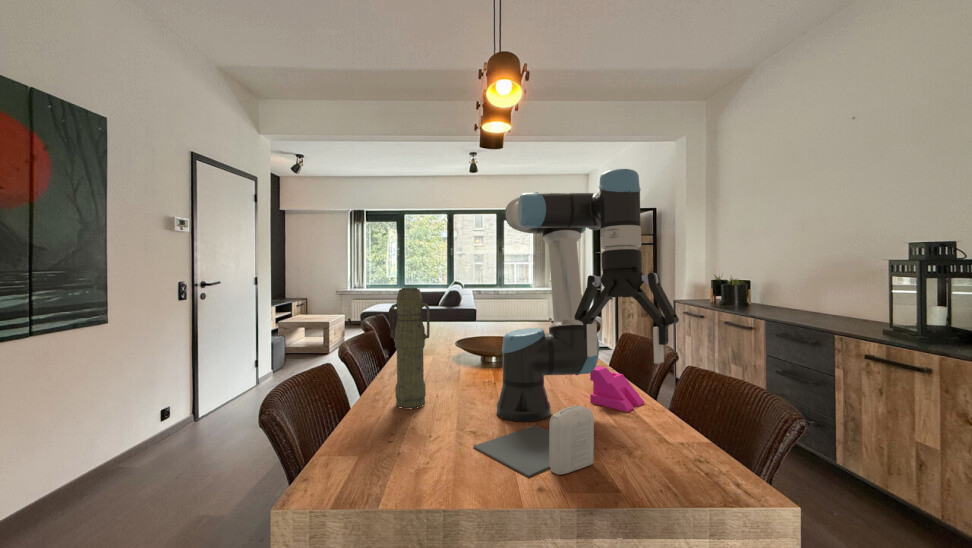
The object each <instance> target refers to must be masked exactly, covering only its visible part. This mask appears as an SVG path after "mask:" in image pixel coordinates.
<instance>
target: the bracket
mask: <svg viewBox="0 0 972 548" xmlns="http://www.w3.org/2000/svg"><path fill="white" fill-rule="evenodd" d="M589 375H590V376H589V377H590V378H589V380H590V381H591V382H593V383H592V384H593V385H592V386H593V388H592V391H593V393H591V394H590V397H589V398H590V399H589V400H590V401H589V402H590V403H591V404H595V405H599V406H603V407H606V408H611V409H614V410H618V411H620V412H621V411H622V412H626V413H628V412H632V410H634V406H637V407H640V406H642V405H644V404H645V401H644V399H643V398H642V397H641V396H640V395H639V393H638V392H637V391H636V389H635V388H634V387H633V385H632V384H631V383H630V382H629V380H628V379H627V377H625V376H624V374H623V373H617V372H614V371H613V372H612V371H610V370H609V368H608V367H605V366H600V365H598V366H596V367H595V369H594V370H593V371H592V372H591V373H589Z"/></svg>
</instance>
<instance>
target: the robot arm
mask: <svg viewBox="0 0 972 548" xmlns="http://www.w3.org/2000/svg"><path fill="white" fill-rule="evenodd" d="M639 175H640V174H639V173H638V172H637V171H636V170H634V169H631V168H617V169H610V170H607V171H605V172H603V173H602V174H601V175H600V177H599V185H598V189H599V191H598V192H538V191H534V192H523V193H522V194H520V196H519V197H516V198H514V199H511V201H510V202H509V203H507V205H506V208H505V211H504V218H505V221H506V223H507V225H508V226H509V227H510V228H512V230H515V231H518V232H522V233H524V234H525V233H526V234H536V235H537V234H540V235H542V241H543V242H544V243H545V244H547V245H548V256H549V257H548V258H549V260H548V261H549V272H550V273H549V274H550V286H551V287H550V288H551V301H552V302H551V304H552V315H553V316H552V317H553V318H552V319H553V322H552V323H551V325H550V326H549V327H548V332H549V333H545V330H544V329H543V328H539V327H528V328H520V329H516V330H512V331H509V332H507V333H505V335H504V336H503V338H502V348H501V353H502V387H501V391H500V395H499V399H498V401H497V402H496V414H497V415H498V417H500V418H503V419H506V420H508V421H514V422H521V423H523V422H537V421H542V420H545V419H547V418H548V417H550V415H551V409H552V408H551V404H550V401H549V399H548V394H547V391H546V387H545V376H570V375H571V376H572V375H575V376H579V375H585V374H586V375H590V373H591V372H592V371H593V370H594V369H595V367H597V364H598V361H599V355H600V341H599V337H598V328H597V327H598V325H597V323H595V321H594V320H596V319H597V317H598V316H599V314H600V313H601V311H602V310H603V309H604V308H605V307H606V305H607V304H608V302H609V301H610V300H611V299H613V298H633V299H634V300H635V301H636V302H637V303H638V304H639V305H640V306H641V307H642V309H643V310H644V311H645V312H646V313H647V315H648V316H649V317H650V318H651V319H652V320H653V322H654V323H655V324H656V326H653V327H652V334H653V335H652V336H653V337H652V339H653V340H652V341H653V364H658V365H659V364H662V363H665V354H664V353H665V351H664V349H665V347H664V346H665V345H668V344H669V328H670V327H669V326H672V325H675V324H677V323H679V321H680V319H679V317H678V315H677V313H676V311H675V309H674V307H673V305H672V304H671V302H670V299H669V298H668V296H667V294H666V292H665V290H664V289H663V287H662V285H661V279H660V274H659V273H657V272H656V273H655V272H649V273H647V274H643V272H642V270H643V269H642V268H643V258H642V251H641V249H640V248H641V247H642V232H641V231H642V229H641V227H642V226H641V186H640V176H639ZM586 229H589V230H591V231H598V230H600V245H601V249H602V250H604V251H602V252H601V253H600V254H601V258H600V259H601V260H600V261H601V270H602V271H601V272H602V275H601V276H599V275H591V274H590V275H588V276H587V283H586V287H585V290H584V292H583V295H582V287H581V285H582V284H581V277H580V276H581V275H580V264H579V263H580V262H579V252H578V251H579V249H578V241H580V239H581V238H582V234H583V233H585V231H586ZM643 283H645V284H646V285H647V286H648V288H649V290H650V291H651V293H652V296H653V297H654V299H655V301H656V302H657V306H658V307H659V308H660V310H661V311H660V310H659V309H658V307H657V306H656V305H655V304H654V303H653V302H652V301H651V299H649V297H648V296H647V294H646V292H645V291H644V290H643V289H642V288H641V287H642V285H643ZM601 285H602V286H603V287H604V288H602V290H601V292H600V293H599V295H598V297H597V298H596V300H595V301H594V302H593V300H594V299H595V296H596V294H597V291H598V288H599V287H600V286H601ZM591 305H592V306H591Z"/></svg>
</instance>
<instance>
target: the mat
mask: <svg viewBox="0 0 972 548" xmlns="http://www.w3.org/2000/svg"><path fill="white" fill-rule="evenodd" d="M473 447H474V448H473ZM472 448H473V449H475V448H476V449H475V450H477V451H479V452H480V451H481V454H482V453H483V454H484V455H486V456H488V457H490V458H492V459H494V461H495V460H496V461H497V462H499V463H500V464H503V465H505V466H506V467H508V468H509V469H512V470H514V471H516V472H518V473H520V474H521V475H523V476H525V477H527V478H530V477H533V476H535V475H537V474H539V473H543V472H544V471H547V470H550V469H551V468H550V466H549V429H546V428H543V427H541V426H538V425H536V424H535V425H531V426H528V427H525V428H522V429H519V430H517V431H513V432H510V433H507V434H504V435H502V436H498V437H496V438H492V439H490V440H487V441H484V442H481V443H478V444H475V445H472Z"/></svg>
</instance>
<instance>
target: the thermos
mask: <svg viewBox="0 0 972 548" xmlns="http://www.w3.org/2000/svg"><path fill="white" fill-rule="evenodd" d="M395 307H396V316H397V319H396V325H395V323H394V322H395V320H394V319H395V317H394V315H395V313H394V312H395V311H394V309H395ZM424 307H425V309H426V327H425V325H424V323H423V308H424ZM388 314H389V315H388V316H389V336H390V338H392V340H394V348H395V349H396V378H397V379H396V384H395V388H394V389H395V390H394V391H395V392H394V393H395V394H394V395H395V399H396V402H395V406H396V405H397V406H398V407H402V408H416V409H418V408H417V407H420V406H422V405H424V404H425V405H426V394H427V393H426V388H427V387H426V381H425V378H424V376H425V375H424V370H425V369H424V349H425V345H426V342H425V341H426V340H427V339H430V334H431V333H430V329H431V328H430V307H429V305H428V304H427V303H424V302H423V296H422V292H421V290H420V288H418V287H401V288H400V289H399V290H398V293H397V295H396V303H394V304H391V306H390V307H389V313H388ZM394 325H395V326H394ZM425 329H426V331H425ZM425 405H424V406H425ZM397 406H396V407H397ZM398 407H397V408H398ZM422 407H423V406H422ZM420 408H421V407H420Z"/></svg>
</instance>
